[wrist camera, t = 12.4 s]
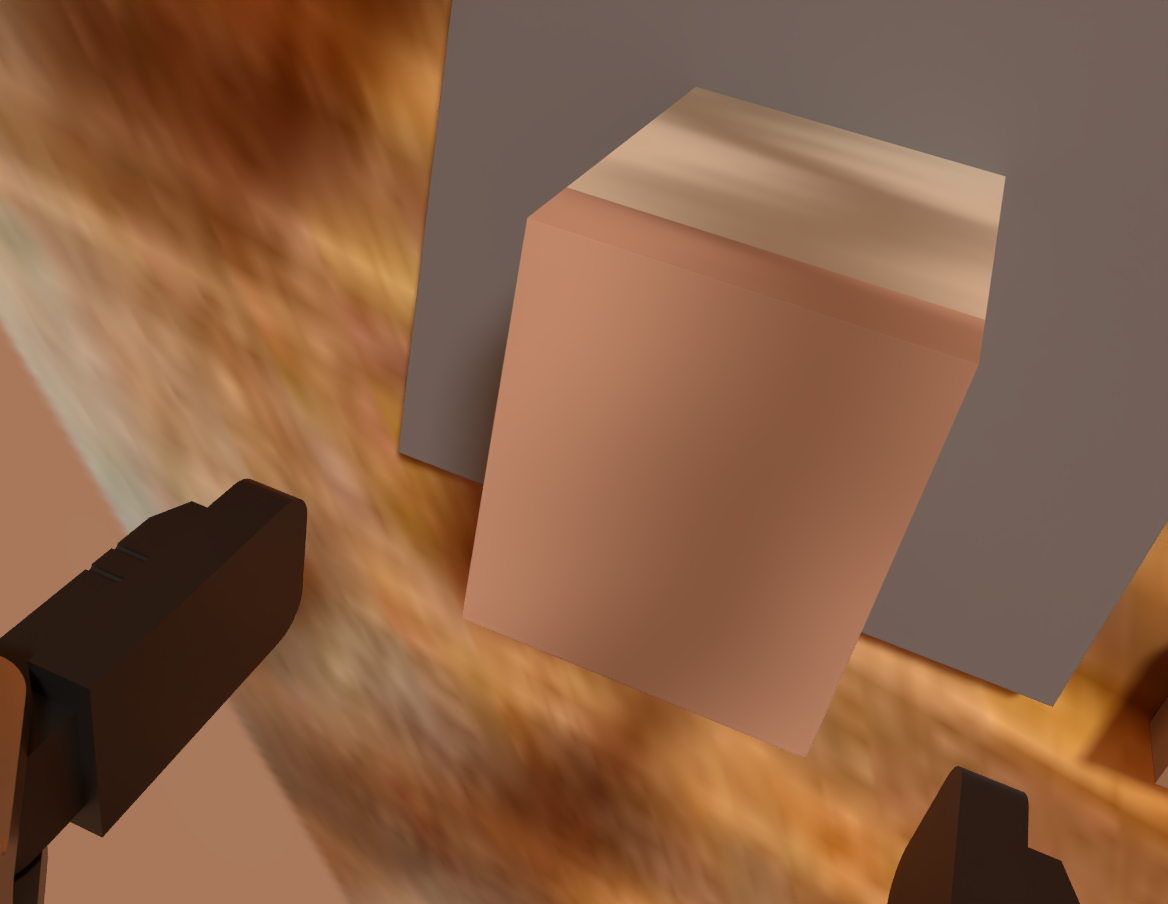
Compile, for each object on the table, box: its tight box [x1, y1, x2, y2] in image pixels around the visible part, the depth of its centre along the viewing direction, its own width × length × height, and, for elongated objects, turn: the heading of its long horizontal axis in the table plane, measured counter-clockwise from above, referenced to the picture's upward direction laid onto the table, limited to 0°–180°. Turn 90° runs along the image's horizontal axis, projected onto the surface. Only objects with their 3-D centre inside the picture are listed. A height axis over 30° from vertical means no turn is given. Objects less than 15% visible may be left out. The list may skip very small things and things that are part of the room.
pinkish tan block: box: [462, 87, 1006, 758], centre depth 16 cm, size 5×8×9 cm, turn 169°
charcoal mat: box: [398, 0, 1168, 707], centre depth 19 cm, size 14×12×1 cm
